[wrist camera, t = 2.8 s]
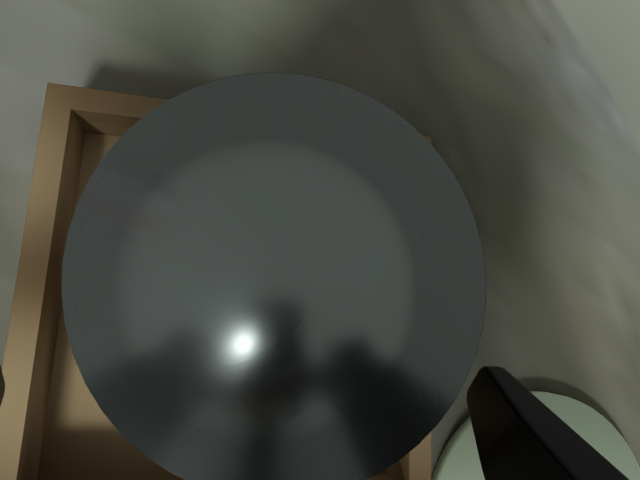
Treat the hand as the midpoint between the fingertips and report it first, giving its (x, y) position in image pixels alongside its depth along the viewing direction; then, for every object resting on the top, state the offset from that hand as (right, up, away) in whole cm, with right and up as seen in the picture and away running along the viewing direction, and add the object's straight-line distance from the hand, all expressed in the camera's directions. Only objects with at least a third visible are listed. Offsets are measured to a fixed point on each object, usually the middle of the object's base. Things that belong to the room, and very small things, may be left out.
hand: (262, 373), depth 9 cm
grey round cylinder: (-2, 0, +9) cm, 9 cm away
